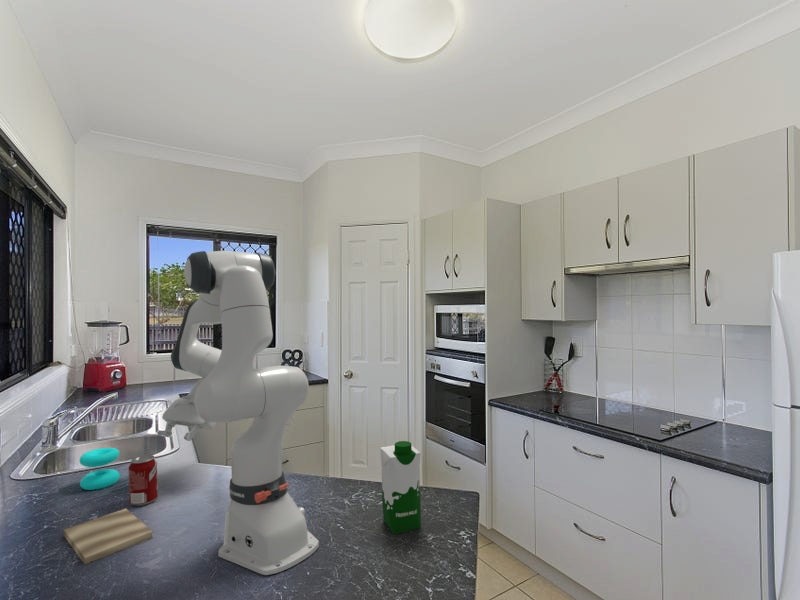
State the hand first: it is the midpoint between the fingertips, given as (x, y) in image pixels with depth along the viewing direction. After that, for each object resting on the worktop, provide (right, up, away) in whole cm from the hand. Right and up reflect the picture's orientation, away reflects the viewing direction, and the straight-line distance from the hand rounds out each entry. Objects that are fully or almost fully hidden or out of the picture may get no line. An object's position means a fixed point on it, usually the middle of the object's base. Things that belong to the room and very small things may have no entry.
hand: (175, 437), depth 127 cm
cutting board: (-2, -15, -27) cm, 31 cm away
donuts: (-25, -15, +3) cm, 29 cm away
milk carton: (+67, -13, -24) cm, 73 cm away
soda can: (-4, -15, -9) cm, 18 cm away
